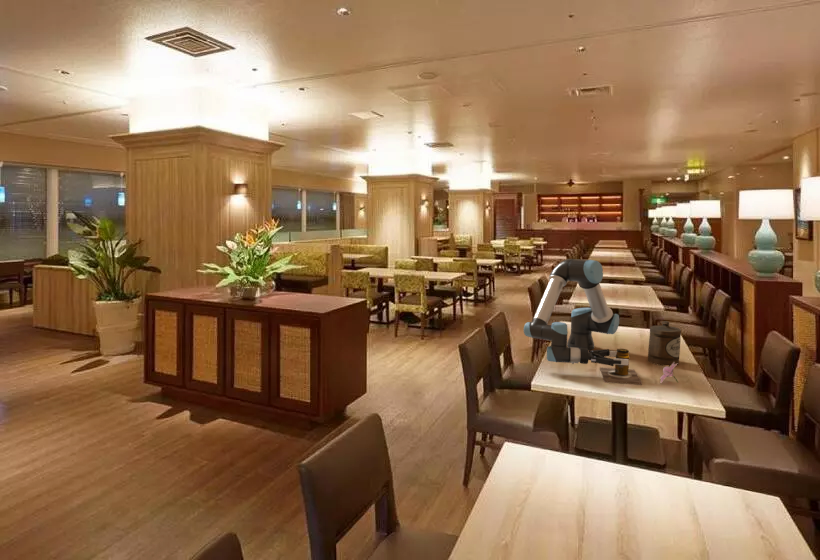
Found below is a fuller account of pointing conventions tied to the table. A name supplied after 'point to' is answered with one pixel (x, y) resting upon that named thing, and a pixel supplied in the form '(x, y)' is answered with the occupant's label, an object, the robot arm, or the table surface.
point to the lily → (668, 372)
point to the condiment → (621, 369)
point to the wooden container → (664, 344)
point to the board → (615, 379)
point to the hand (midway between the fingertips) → (626, 358)
